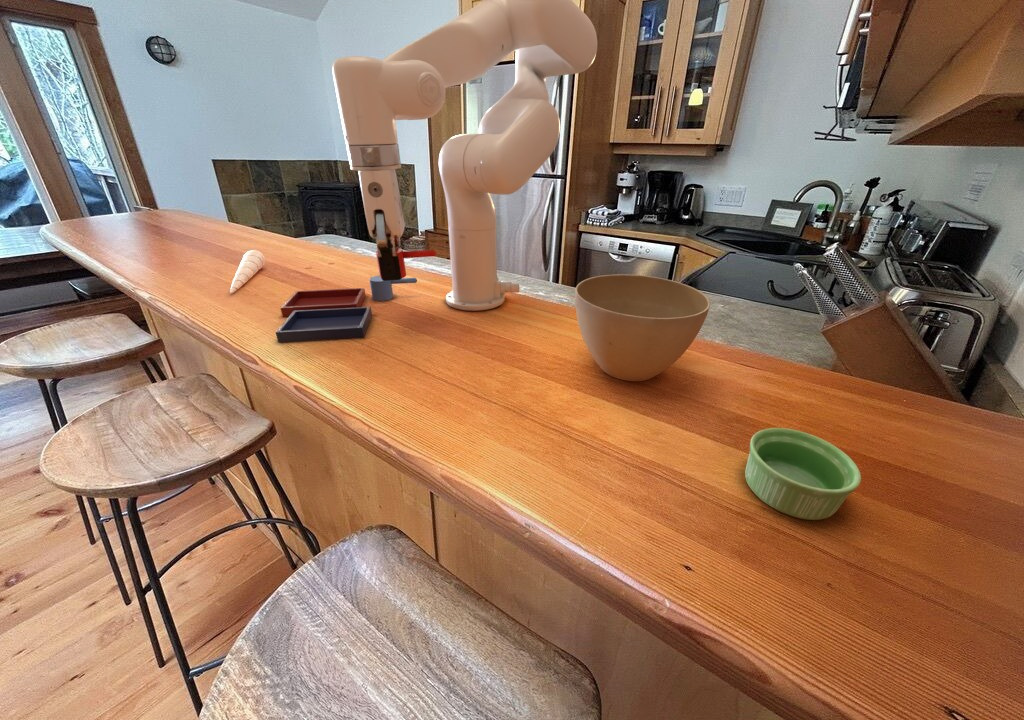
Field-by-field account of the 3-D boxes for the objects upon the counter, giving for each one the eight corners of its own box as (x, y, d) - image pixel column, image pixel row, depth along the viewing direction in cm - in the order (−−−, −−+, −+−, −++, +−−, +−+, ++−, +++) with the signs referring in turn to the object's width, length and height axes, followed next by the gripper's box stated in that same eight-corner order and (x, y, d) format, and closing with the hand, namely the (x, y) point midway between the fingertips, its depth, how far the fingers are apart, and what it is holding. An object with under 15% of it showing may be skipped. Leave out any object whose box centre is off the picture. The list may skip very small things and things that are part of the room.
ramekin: (819, 543, 36) (838, 508, 34) (721, 482, 42) (732, 449, 40) (857, 497, 41) (876, 463, 38) (764, 448, 47) (776, 417, 45)
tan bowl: (601, 410, 53) (613, 324, 48) (552, 349, 69) (557, 278, 63) (718, 390, 58) (742, 309, 52) (648, 337, 73) (660, 270, 67)
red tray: (365, 296, 91) (364, 287, 90) (357, 313, 83) (356, 304, 82) (298, 299, 89) (296, 290, 89) (282, 317, 81) (280, 307, 80)
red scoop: (438, 269, 74) (435, 245, 72) (438, 277, 71) (435, 251, 68) (381, 273, 73) (377, 248, 71) (378, 281, 69) (374, 255, 67)
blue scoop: (419, 292, 94) (417, 273, 91) (418, 299, 90) (416, 279, 88) (374, 294, 92) (370, 275, 90) (371, 301, 88) (367, 281, 86)
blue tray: (372, 315, 81) (370, 306, 80) (363, 337, 72) (362, 327, 72) (296, 319, 79) (293, 310, 78) (278, 342, 71) (275, 332, 70)
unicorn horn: (212, 296, 90) (204, 275, 88) (249, 267, 111) (243, 249, 109) (236, 295, 91) (229, 274, 89) (268, 266, 112) (263, 249, 110)
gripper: (395, 161, 56) (413, 290, 65) (403, 154, 70) (417, 260, 79) (337, 162, 55) (363, 293, 64) (357, 155, 69) (376, 262, 78)
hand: (393, 274), depth 71 cm, fingers closed on red scoop, 4 cm apart
